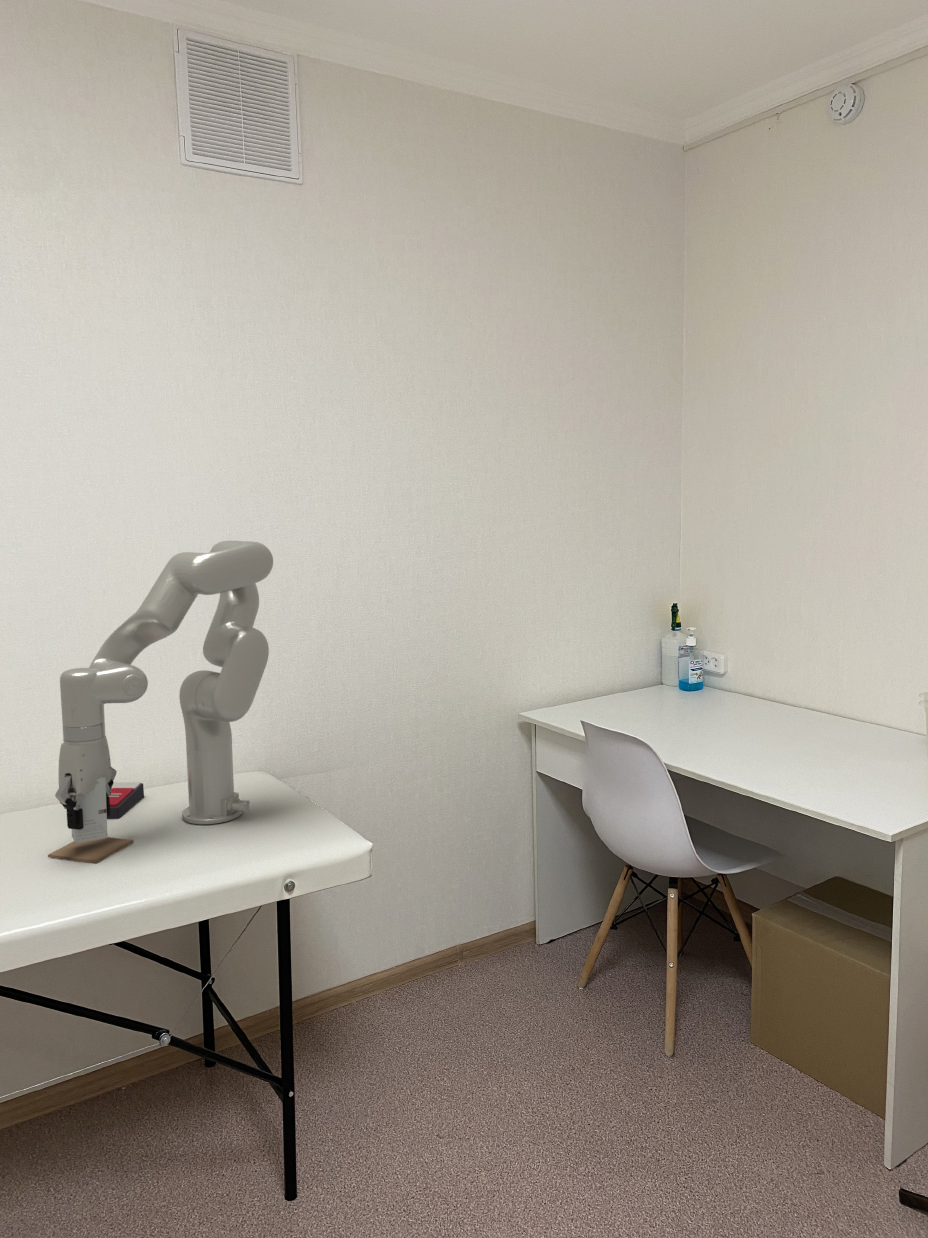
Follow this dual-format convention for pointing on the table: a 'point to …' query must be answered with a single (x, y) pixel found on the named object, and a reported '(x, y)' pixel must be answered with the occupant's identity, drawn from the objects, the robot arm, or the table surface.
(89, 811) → the skincare box
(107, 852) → the walnut board
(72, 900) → the table surface
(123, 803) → the black and red case
